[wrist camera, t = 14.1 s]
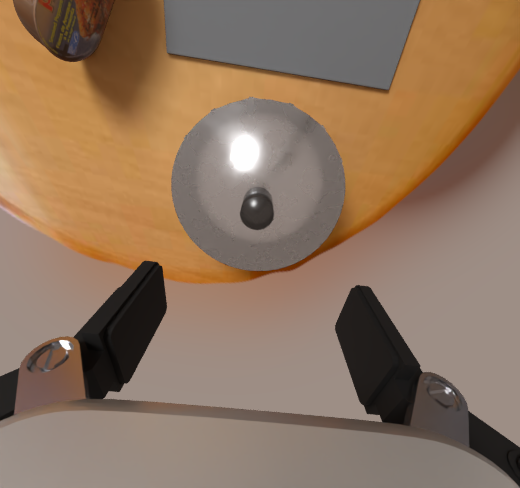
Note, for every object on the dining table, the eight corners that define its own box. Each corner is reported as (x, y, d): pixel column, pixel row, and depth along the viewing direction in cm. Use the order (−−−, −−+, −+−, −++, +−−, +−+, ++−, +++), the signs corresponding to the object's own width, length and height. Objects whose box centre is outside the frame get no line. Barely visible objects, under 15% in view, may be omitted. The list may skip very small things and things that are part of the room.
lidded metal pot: (350, 117, 31) (398, 112, 20) (310, 254, 43) (326, 300, 32) (186, 91, 30) (140, 71, 19) (190, 239, 41) (162, 281, 30)
